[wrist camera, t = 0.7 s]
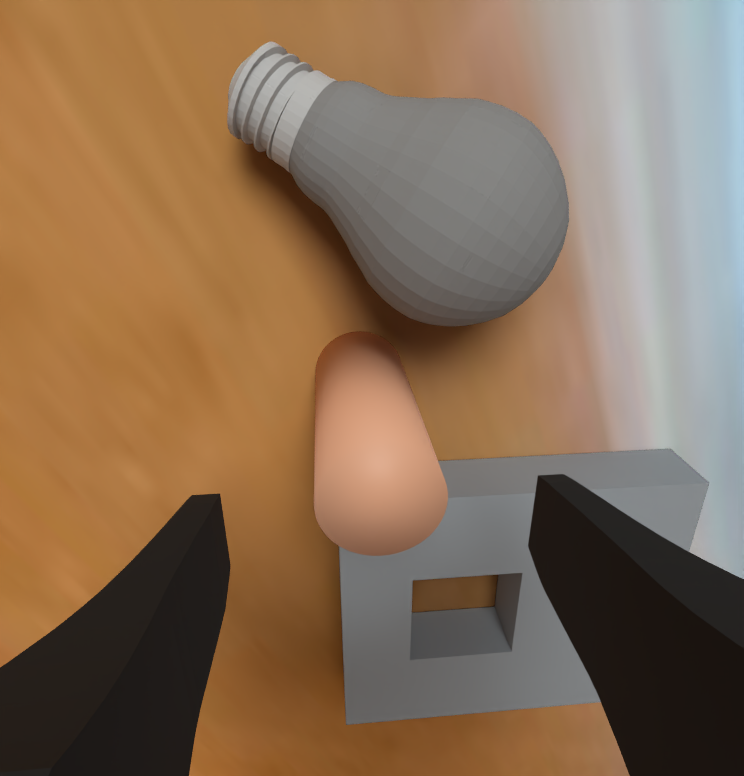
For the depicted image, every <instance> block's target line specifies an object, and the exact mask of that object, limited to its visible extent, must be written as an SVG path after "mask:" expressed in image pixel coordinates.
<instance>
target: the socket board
mask: <svg viewBox="0 0 744 776" xmlns="http://www.w3.org/2000/svg"><path fill="white" fill-rule="evenodd" d="M438 462H439V465H440V468H441V471H442V473H443V476H444V479H445V482H446V484H447V490H448V503H447V508H446V511H445V514H444V516H443V519H442V521H441V522H440V524H439V525H438V527H437V528H436V529H435V530H434V532H433V533H432V534H431V535H430V536H429V537H427V538H426V539H425V540H424V541H422V542H421V543H419V544H418V545H416V546H414V547H412V548H410V549H408V550H405V551H402V552H399V553H396V554H391V555H384V556H369V555H362V554H357V553H354V552H351V551H348V550H346V549H344V548H342V547H340V546H339V565H340V590H341V616H342V642H343V667H344V690H345V711H346V725H350V724H361V723H372V722H383V721H394V720H405V719H417V718H428V717H439V716H450V715H461V714H472V713H484V712H495V711H506V710H517V709H528V708H539V707H551V706H562V705H573V704H584V703H595V702H601V701H600V699H599V696H598V694H597V692H596V690H595V688H594V685H593V683H592V681H591V679H590V677H589V675H588V673H587V671H586V669H585V667H584V665H583V663H582V662H581V660H580V658H579V656H578V654H577V652H576V650H575V648H574V646H573V644H572V642H571V641H570V639H569V637H568V635H567V633H566V631H565V629H564V627H563V625H562V623H561V622H560V620H559V618H558V616H557V614H556V612H555V610H554V608H553V606H552V604H551V602H550V600H549V598H548V596H547V594H546V592H545V590H544V588H543V586H542V584H541V581H540V579H539V576H538V573H537V571H536V568H535V565H534V562H533V559H532V557H531V554H530V551H529V548H528V542H529V535H530V527H531V520H532V513H533V506H534V499H535V492H536V485H537V478H538V475H554V474H565V475H566V476H568V477H570V478H571V479H573V480H575V481H576V482H578V483H579V484H581V485H583V486H584V487H586V488H587V489H589V490H590V491H592V492H593V493H595V494H596V495H598V496H599V497H601V498H602V499H604V500H605V501H607V502H608V503H610V504H611V505H613V506H614V507H616V508H617V509H619V510H620V511H622V512H624V513H625V514H627V515H628V516H630V517H631V518H633V519H634V520H636V521H638V522H639V523H641V524H642V525H644V526H646V527H647V528H649V529H650V530H652V531H654V532H655V533H657V534H659V535H660V536H662V537H664V538H665V539H667V540H669V541H671V542H672V543H674V544H676V545H678V546H679V547H681V548H683V549H684V550H686V551H688V552H689V550H690V546H691V543H692V539H693V536H694V533H695V529H696V526H697V523H698V519H699V516H700V512H701V509H702V506H703V502H704V499H705V496H706V492H707V489H708V486H709V482H708V481H707V480H706V479H704V478H703V477H702V476H701V475H700V474H699V473H698V472H696V471H695V470H694V469H693V468H692V467H691V466H690V465H689V464H687V463H686V462H685V461H684V460H683V459H682V458H681V457H679V456H678V455H677V454H676V453H675V452H674V451H673V450H671V449H658V450H639V451H620V452H601V453H582V454H563V455H544V456H525V457H506V458H487V459H468V460H449V461H438ZM497 574H498V582H497V590H496V599H495V607H484V608H470V609H457V610H443V611H430V612H416V613H412V584H413V580H426V579H440V578H454V577H469V576H483V575H497Z"/></svg>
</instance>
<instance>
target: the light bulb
mask: <svg viewBox="0 0 744 776" xmlns="http://www.w3.org/2000/svg"><path fill="white" fill-rule="evenodd" d="M228 100H229V103H228V120H227V123H228V129H229V131H230V133H231V134H232V135H233V136H235V137H236V138H238V139H242V141H243V142H244V143H246V144H252V143H254V147H255V149H256V150H257V151H258V152H263V151H266V150H267V152H266V153H267V157H268V158H269V159H271V160H273V161H274V162H276V163H277V164H279V165H280V166H282V167H284V168H285V169H286V170H287V171H288V172H290V173H291V174H292V176H293V178H294V180H295V182H296V184H297V186H298V187H299V188H300V189H301V191H302V192H303V193H304V194H305V195H306V196H307V197H308V198H309V199H311V200H312V201H313V202H314V203H315V204H317V205H318V206H319V207H321V208H322V209H323V210H324V211H325V212H326V213H327V214H328V215H329V217H330V219H331V220H332V222H333V223H334V225H335V227H336V228H337V230H338V231H339V233H340V235H341V236H342V238H343V239H344V241H345V243H346V244H347V247H348V249H349V251H350V253H351V255H352V257H353V258H354V260H355V261H356V263H357V265H358V266H359V268H360V270H361V272H362V273H363V275H364V277H365V279H366V280H367V282H368V283H369V285H370V286H371V287H372V288H373V289H374V290H375V291H376V292H377V294H378V295H379V296H380V297H381V298H382V299H383V300H384V301H386V302H387V303H388V304H389V305H391V306H392V307H393V308H394V309H396V310H397V311H399V312H400V313H402V314H404V315H405V316H407V317H408V318H411V319H414V320H416V321H419V322H423V323H427V324H432V325H440V326H466V325H472V324H477V323H482V322H486V321H489V320H492V319H495V318H498V317H501V316H503V315H505V314H507V313H508V312H510V311H511V310H513V309H514V308H516V307H518V306H519V305H521V304H522V303H523V302H524V301H525V300H526V299H528V298H529V297H530V296H531V295H532V294H533V293H534V292H535V291H536V290H537V289H538V288H539V287H540V286H541V284H542V283H543V282H544V281H545V279H546V278H547V277H548V275H549V274H550V272H551V270H552V269H553V267H554V265H555V262H556V260H557V258H558V256H559V254H560V252H561V249H562V247H563V244H564V240H565V236H566V232H567V227H568V222H569V202H568V196H567V191H566V185H565V179H564V176H563V173H562V170H561V167H560V165H559V162H558V159H557V157H556V155H555V153H554V151H553V149H552V148H551V146H550V144H549V143H548V141H547V140H546V138H545V137H544V135H543V134H542V133H541V132H540V130H539V129H538V128H537V127H536V126H535V125H534V124H533V123H532V122H531V121H529V120H528V119H526V118H524V117H523V116H521V115H520V114H518V113H517V112H515V111H513V110H510V109H508V108H506V107H504V106H502V105H498V104H495V103H492V102H489V101H485V100H481V99H466V98H444V97H443V98H414V97H397V96H390V95H387V94H384V93H382V92H380V91H378V90H376V89H374V88H372V87H370V86H368V85H365V84H363V83H359V82H354V81H340V82H338V81H336V80H335V79H333V78H329V77H328V76H326V75H325V74H323V73H322V72H320V71H313V69H312V67H311V66H310V65H309V64H308V63H305V62H300V60H299V58H298V57H297V56H295V55H294V54H288V53H287V51H286V50H285V49H284V48H283V47H281V46H280V45H278V44H277V43H275V42H268V43H265V44H264V45H263V46H261V47H260V48H259V49H257V50H256V51H255V52H254V53H253V54H252V55H251V56H249V57H248V58H247V59H246V60H245V61H244V62H242V64H241V65H240V66H239V67H238V69H237V70H236V72H235V74H234V76H233V78H232V80H231V83H230V87H229V93H228Z"/></svg>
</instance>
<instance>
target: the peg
mask: <svg viewBox="0 0 744 776" xmlns="http://www.w3.org/2000/svg"><path fill="white" fill-rule="evenodd" d="M447 503H448V490H447V484H446V482H445V479H444V476H443V473H442V471H441V468H440V465H439V462H438V460H437V457H436V454H435V452H434V449H433V446H432V444H431V441H430V438H429V435H428V433H427V430H426V427H425V425H424V422H423V419H422V417H421V414H420V411H419V409H418V406H417V403H416V400H415V398H414V395H413V392H412V390H411V387H410V384H409V382H408V379H407V376H406V373H405V371H404V368H403V365H402V363H401V360H400V357H399V355H398V353H397V351H396V350H395V348H394V347H393V346H392V345H391V344H390V343H389V342H388V341H387V340H386V339H384V338H382V337H381V336H378V335H376V334H373V333H369V332H351V333H347V334H344V335H341V336H339V337H337V338H336V339H334V340H333V341H331V342H330V343H329V344H328V345H327V346H326V347H325V348H324V349H323V351H322V352H321V354H320V356H319V358H318V361H317V365H316V390H315V471H314V510H315V516H316V519H317V522H318V524H319V526H320V528H321V529H322V531H323V532H324V533H325V535H326V536H327V537H328V538H329V539H330V540H332V541H333V542H334V543H335V544H337V545H338V546H340V547H342V548H344V549H346V550H348V551H351V552H354V553H357V554H362V555H369V556H384V555H391V554H396V553H399V552H402V551H405V550H408V549H410V548H412V547H414V546H416V545H418V544H419V543H421V542H422V541H424V540H425V539H426V538H427V537H429V536H430V535H431V534H432V533H433V532H434V530H435V529H436V528H437V527H438V525H439V524H440V522H441V521H442V519H443V516H444V514H445V511H446V508H447Z"/></svg>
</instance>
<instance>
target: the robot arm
mask: <svg viewBox="0 0 744 776" xmlns="http://www.w3.org/2000/svg"><path fill="white" fill-rule="evenodd" d="M528 548H529V551H530V554H531V557H532V559H533V562H534V565H535V568H536V571H537V573H538V576H539V579H540V581H541V584H542V586H543V588H544V590H545V592H546V594H547V596H548V598H549V600H550V602H551V604H552V606H553V608H554V610H555V612H556V614H557V616H558V618H559V620H560V622H561V623H562V625H563V627H564V629H565V631H566V633H567V635H568V637H569V639H570V641H571V642H572V644H573V646H574V648H575V650H576V652H577V654H578V656H579V658H580V660H581V662H582V663H583V665H584V667H585V669H586V671H587V673H588V675H589V677H590V679H591V681H592V683H593V685H594V688H595V690H596V692H597V694H598V696H599V699H600V701H601V704H602V706H603V708H604V711H605V713H606V716H607V718H608V721H609V723H610V726H611V728H612V731H613V733H614V736H615V738H616V741H617V743H618V746H619V748H620V751H621V754H622V756H623V759H624V762H625V764H626V767H627V769H628V772H629V775H630V776H744V579H741V578H739V577H737V576H735V575H733V574H731V573H729V572H727V571H725V570H723V569H721V568H719V567H717V566H715V565H713V564H711V563H709V562H707V561H705V560H703V559H701V558H699V557H697V556H695V555H694V554H692V553H690V552H688V551H686V550H684V549H683V548H681V547H679V546H678V545H676V544H674V543H672V542H671V541H669V540H667V539H665V538H664V537H662V536H660V535H659V534H657V533H655V532H654V531H652V530H650V529H649V528H647V527H646V526H644V525H642V524H641V523H639V522H638V521H636V520H634V519H633V518H631V517H630V516H628V515H627V514H625V513H624V512H622V511H620V510H619V509H617V508H616V507H614V506H613V505H611V504H610V503H608V502H607V501H605V500H604V499H602V498H601V497H599V496H598V495H596V494H595V493H593V492H592V491H590V490H589V489H587V488H586V487H584V486H583V485H581V484H579V483H578V482H576V481H575V480H573V479H571V478H570V477H568V476H566V475H565V474H554V475H538V478H537V485H536V492H535V499H534V506H533V513H532V520H531V527H530V535H529V542H528ZM229 575H230V560H229V553H228V546H227V539H226V532H225V525H224V518H223V511H222V504H221V497H220V494H206V495H192V496H191V497H190V498H189V499H188V500H187V501H186V502H185V503H184V504H183V505H182V506H181V507H180V509H179V510H178V511H177V512H176V513H175V514H174V515H173V516H172V518H171V519H170V520H169V521H168V522H167V523H166V524H165V526H164V527H163V528H162V529H161V530H160V531H159V532H158V533H157V534H156V536H155V537H154V538H153V539H152V540H151V541H150V542H149V543H148V544H147V545H146V546H145V547H144V548H143V549H142V551H141V552H140V553H139V554H138V555H137V556H136V557H135V558H134V559H133V560H132V561H131V562H130V563H129V564H128V565H127V566H126V567H125V568H124V569H123V570H122V571H121V572H120V573H119V574H118V575H117V576H116V577H115V578H114V579H113V580H112V581H110V582H109V583H108V584H107V585H106V586H105V587H104V588H103V589H102V590H101V591H100V592H99V593H98V594H97V595H95V596H94V597H93V598H92V599H91V600H90V601H88V602H87V603H86V604H85V605H84V606H83V607H81V608H80V609H79V610H78V611H76V612H75V613H74V614H73V615H72V616H70V617H69V618H68V619H67V620H65V621H64V622H63V623H62V624H60V625H59V626H58V627H57V628H55V629H54V630H53V631H51V632H50V633H48V634H47V635H46V636H44V637H43V638H41V639H40V640H39V641H37V642H36V643H34V644H33V645H32V646H30V647H29V648H28V649H26V650H25V651H23V652H22V653H21V654H19V655H18V656H16V657H15V658H14V659H12V660H11V661H9V662H8V663H6V664H5V665H3V666H2V667H0V776H189V770H190V764H191V757H192V751H193V744H194V738H195V732H196V727H197V722H198V717H199V713H200V708H201V704H202V700H203V696H204V692H205V688H206V684H207V680H208V676H209V672H210V668H211V665H212V661H213V657H214V653H215V649H216V645H217V641H218V637H219V633H220V629H221V625H222V621H223V616H224V612H225V607H226V599H227V592H228V583H229Z"/></svg>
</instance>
